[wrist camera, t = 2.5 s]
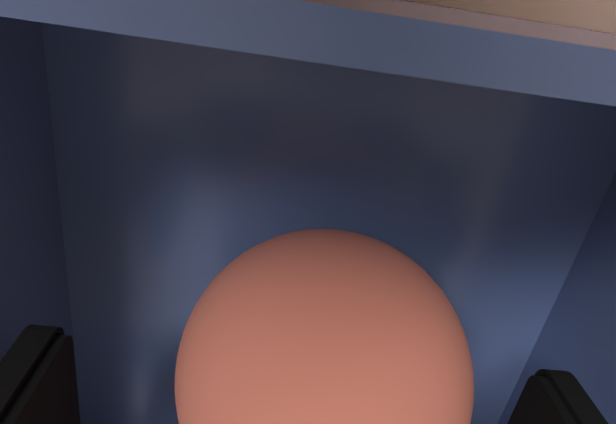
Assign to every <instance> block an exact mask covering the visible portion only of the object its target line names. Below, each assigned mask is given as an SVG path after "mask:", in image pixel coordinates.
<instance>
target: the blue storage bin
mask: <svg viewBox="0 0 616 424" xmlns="http://www.w3.org/2000/svg"><path fill="white" fill-rule="evenodd" d="M321 228H325V229H340V230H345V231H351V232H356V233H359V234H362V235H366V236H369V237H372V238H375V239H377V240H380V241H382V242H384V243H386V244H389V245H391V246H392V247H394V248H395V249H397V250H399V251H400V252H402V253H404V254H405V255H406V256H408V257H409V258H411V259H412V260H413V261H414V262H416V263H417V264H418V265H419V266H420V267H422V268H423V269H424V270H425V271H426V272H427V274H428V275H429V276H430V277H431V278H432V279H433V280H434V281H435V283H436V284H437V285H438V286H439V287H440V288H441V289H442V291H443V292H444V294H445V295H446V297H447V299H448V300H449V302H450V303H451V305H452V307H453V308H454V310H455V312H456V314H457V316H458V318H459V320H460V323H461V325H462V328H463V330H464V333H465V336H466V339H467V342H468V346H469V350H470V354H471V360H472V366H473V372H474V405H473V412H472V418H471V423H470V424H507V423H508V421H509V419H510V417H511V414H512V412H513V410H514V408H515V406H516V404H517V401H518V399H519V397H520V395H521V393H522V391H523V388H524V386H525V384H526V382H527V380H528V378H529V377H530V376H532V375H535V373H536V372H537V371H538V370H540V369H549V370H561V371H568V372H570V373H572V374H573V375H574V376H575V377H576V379H577V380H578V382H579V383H580V384H581V386H582V387H583V389H584V390H585V391H586V393H587V394H588V396H589V397H590V398H591V400H592V401H593V403H594V404H595V405H596V407H597V408H598V410H599V411H600V412H601V414H602V415H603V417H604V418H605V419H606V421H607V422H608V424H616V34H611V33H605V32H599V31H592V30H586V29H580V28H574V27H567V26H561V25H555V24H548V23H542V22H536V21H530V20H523V19H517V18H511V17H505V16H498V15H492V14H486V13H479V12H473V11H467V10H461V9H454V8H448V7H442V6H435V5H429V4H423V3H417V2H410V1H404V0H0V361H1V359H2V358H3V357H4V355H5V354H6V353H7V351H8V350H9V349H10V347H11V346H12V345H13V343H14V342H15V341H16V339H17V338H18V337H19V335H20V334H21V333H22V331H23V330H24V329H25V328H26V327H27V326H28V325H42V326H54V327H62V328H63V330H64V334H65V335H68V336H71V337H72V338H73V346H74V357H75V368H76V379H77V390H78V401H79V413H80V424H179V422H178V417H177V410H176V403H175V369H176V360H177V355H178V350H179V345H180V342H181V338H182V335H183V332H184V329H185V326H186V324H187V321H188V319H189V317H190V315H191V313H192V311H193V309H194V307H195V305H196V303H197V301H198V300H199V298H200V297H201V295H202V294H203V293H204V291H205V290H206V288H207V287H208V286H209V284H210V283H211V281H212V280H213V279H214V278H215V277H216V276H217V275H218V274H219V273H220V272H221V271H222V270H223V269H224V268H225V267H226V266H227V265H228V264H229V263H231V262H232V261H233V260H234V259H236V258H237V257H238V256H240V255H241V254H242V253H244V252H245V251H247V250H249V249H250V248H252V247H254V246H256V245H257V244H260V243H262V242H264V241H267V240H269V239H271V238H274V237H276V236H279V235H283V234H286V233H289V232H294V231H300V230H306V229H321Z"/></svg>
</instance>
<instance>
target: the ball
mask: <svg viewBox="0 0 616 424" xmlns="http://www.w3.org/2000/svg"><path fill="white" fill-rule="evenodd" d="M175 403H176V410H177V417H178V422H179V424H470V423H471V418H472V412H473V405H474V372H473V366H472V360H471V354H470V350H469V346H468V342H467V339H466V336H465V333H464V330H463V328H462V325H461V323H460V320H459V318H458V316H457V314H456V312H455V310H454V308H453V307H452V305H451V303H450V302H449V300H448V299H447V297H446V295H445V294H444V292H443V291H442V289H441V288H440V287H439V286H438V285H437V284H436V283H435V281H434V280H433V279H432V278H431V277H430V276H429V275H428V274H427V272H426V271H425V270H424V269H423V268H422V267H420V266H419V265H418V264H417V263H416V262H414V261H413V260H412V259H411V258H409V257H408V256H406V255H405V254H404V253H402V252H400V251H399V250H397V249H395V248H394V247H392V246H391V245H389V244H386V243H384V242H382V241H380V240H377V239H375V238H372V237H369V236H366V235H362V234H359V233H356V232H351V231H345V230H340V229H325V228H321V229H306V230H300V231H294V232H289V233H286V234H283V235H279V236H276V237H274V238H271V239H269V240H267V241H264V242H262V243H260V244H257V245H256V246H254V247H252V248H250V249H249V250H247V251H245V252H244V253H242V254H241V255H240V256H238V257H237V258H236V259H234V260H233V261H232V262H231V263H229V264H228V265H227V266H226V267H225V268H224V269H223V270H222V271H221V272H220V273H219V274H218V275H217V276H216V277H215V278H214V279H213V280H212V281H211V283H210V284H209V286H208V287H207V288H206V290H205V291H204V293H203V294H202V295H201V297H200V298H199V300H198V301H197V303H196V305H195V307H194V309H193V311H192V313H191V315H190V317H189V319H188V321H187V324H186V326H185V329H184V332H183V335H182V338H181V342H180V345H179V350H178V355H177V360H176V369H175Z"/></svg>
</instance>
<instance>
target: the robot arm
mask: <svg viewBox="0 0 616 424" xmlns="http://www.w3.org/2000/svg"><path fill="white" fill-rule="evenodd" d="M0 424H80V413H79V401H78V390H77V379H76V368H75V357H74V346H73V338H72V337H71V336H68V335H65V334H64V330H63V328H62V327H54V326H42V325H28V326H27V327H26V328H25V329H24V330H23V331H22V333H21V334H20V335H19V337H18V338H17V339H16V341H15V342H14V343H13V345H12V346H11V347H10V349H9V350H8V351H7V353H6V354H5V355H4V357H3V358H2V359H1V361H0ZM507 424H608V422H607V421H606V419H605V418H604V417H603V415H602V414H601V412H600V411H599V410H598V408H597V407H596V405H595V404H594V403H593V401H592V400H591V398H590V397H589V396H588V394H587V393H586V391H585V390H584V389H583V387H582V386H581V384H580V383H579V382H578V380H577V379H576V377H575V376H574V375H573V374H572V373H570V372H568V371H561V370H549V369H540V370H538V371H537V372H536V373H535V375H532V376H530V377H529V378H528V380H527V382H526V384H525V386H524V388H523V391H522V393H521V395H520V397H519V399H518V401H517V404H516V406H515V408H514V410H513V412H512V414H511V417H510V419H509V421H508V423H507Z"/></svg>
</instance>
